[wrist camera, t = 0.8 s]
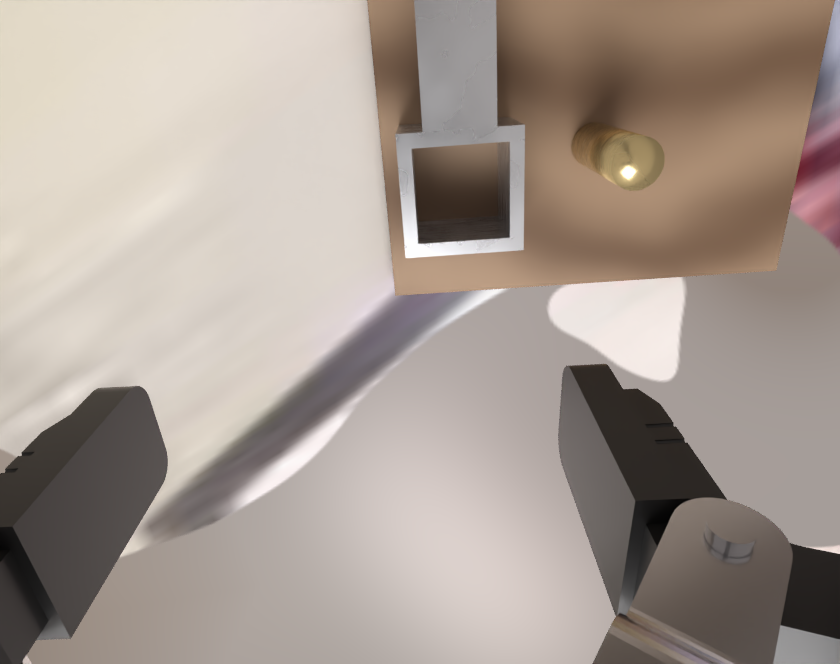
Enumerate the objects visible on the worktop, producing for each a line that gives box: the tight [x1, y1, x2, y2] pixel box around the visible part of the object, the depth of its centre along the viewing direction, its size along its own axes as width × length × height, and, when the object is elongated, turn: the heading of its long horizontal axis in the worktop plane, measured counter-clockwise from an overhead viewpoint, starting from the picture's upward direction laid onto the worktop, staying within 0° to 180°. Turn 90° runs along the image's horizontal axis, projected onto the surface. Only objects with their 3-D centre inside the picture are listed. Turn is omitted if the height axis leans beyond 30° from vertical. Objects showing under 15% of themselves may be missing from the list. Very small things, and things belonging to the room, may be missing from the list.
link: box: [395, 0, 525, 258], centre depth 23 cm, size 13×5×4 cm, turn 4°
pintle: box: [571, 122, 665, 191], centre depth 23 cm, size 2×2×6 cm
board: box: [367, 0, 835, 295], centre depth 25 cm, size 20×20×1 cm
